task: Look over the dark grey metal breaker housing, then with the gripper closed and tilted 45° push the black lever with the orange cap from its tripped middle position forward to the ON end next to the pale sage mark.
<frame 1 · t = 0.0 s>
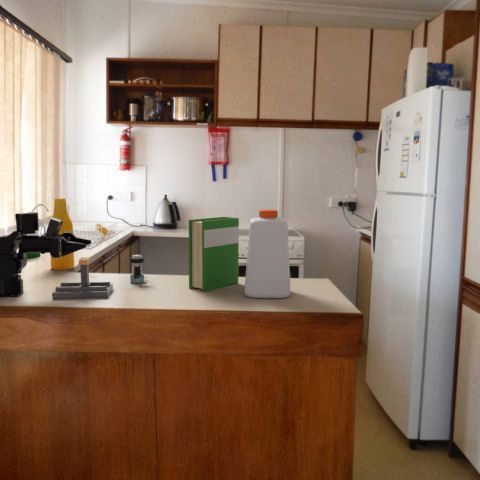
hand: (88, 243, 165), 17 cm above the countertop, tool horizontal, fingers open, 9 cm apart
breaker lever: (84, 272, 165), point 7 cm above the countertop, slide at 3.0 cm
push button: (139, 282, 185), on the countertop
breaker housing: (83, 294, 166), on the countertop
milk carton: (29, 257, 238), on the countertop
hardback book: (214, 286, 180), on the countertop
beer bottle: (62, 268, 210), on the countertop
plastic bottle: (267, 294, 169), on the countertop
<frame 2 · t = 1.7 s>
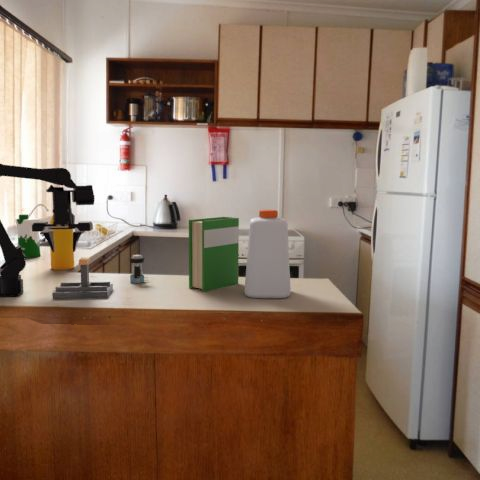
hand: (63, 251, 170), 13 cm above the countertop, tool pointing down, fingers open, 6 cm apart
nothing on the countertop moved.
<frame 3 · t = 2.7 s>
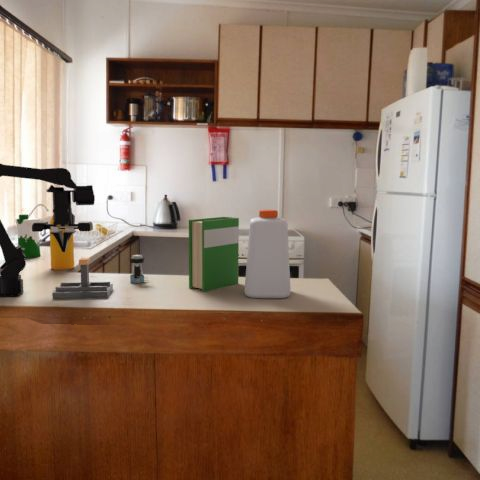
hand: (63, 251, 170), 13 cm above the countertop, tool pointing down, fingers closed
nothing on the countertop moved.
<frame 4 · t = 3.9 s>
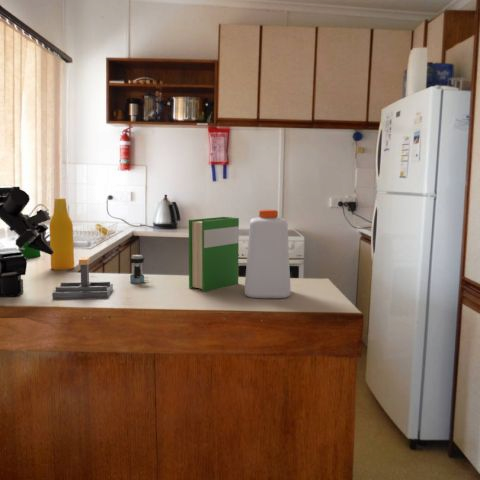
hand: (52, 253, 164), 14 cm above the countertop, tool tilted 45°, fingers closed
nothing on the countertop moved.
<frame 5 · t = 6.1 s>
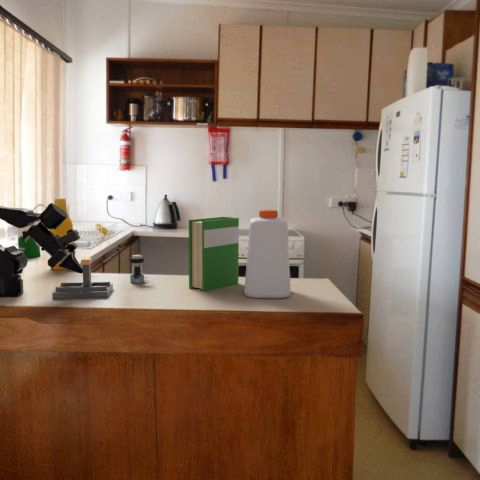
hand: (82, 272, 165), 7 cm above the countertop, tool tilted 45°, fingers closed, pressing on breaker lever
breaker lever: (86, 272, 165), point 7 cm above the countertop, slide at 3.7 cm, touching gripper
everything else where it was.
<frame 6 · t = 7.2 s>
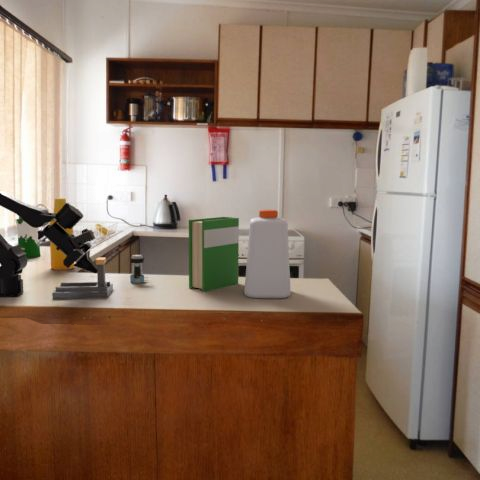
hand: (97, 272, 166), 7 cm above the countertop, tool tilted 45°, fingers closed, pressing on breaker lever
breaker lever: (101, 272, 166), point 7 cm above the countertop, slide at 8.3 cm, touching gripper
everything else where it was.
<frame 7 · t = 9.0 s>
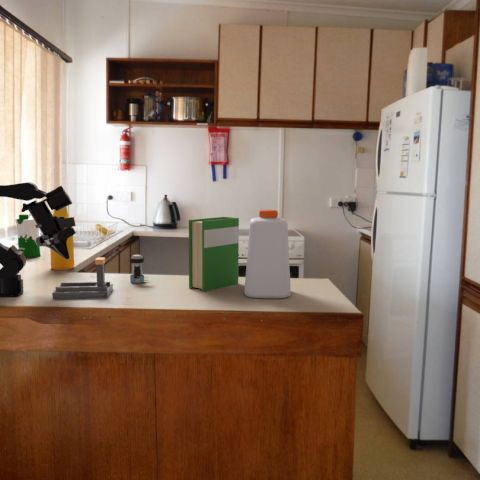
hand: (68, 258, 169), 11 cm above the countertop, tool tilted 25°, fingers closed
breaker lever: (100, 272, 166), point 7 cm above the countertop, slide at 8.1 cm
everything else where it was.
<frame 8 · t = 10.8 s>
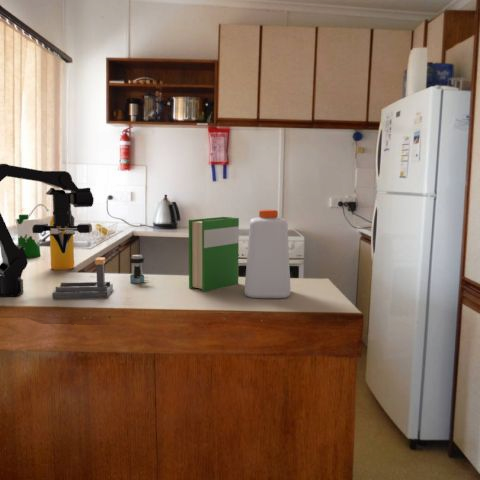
hand: (63, 253, 174), 12 cm above the countertop, tool pointing down, fingers closed
nothing on the countertop moved.
at the end: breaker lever slide at 8.1 cm; the gripper is holding nothing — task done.
